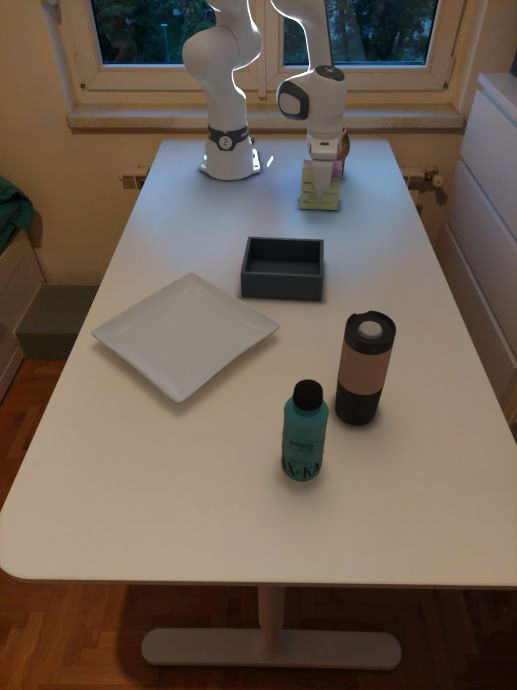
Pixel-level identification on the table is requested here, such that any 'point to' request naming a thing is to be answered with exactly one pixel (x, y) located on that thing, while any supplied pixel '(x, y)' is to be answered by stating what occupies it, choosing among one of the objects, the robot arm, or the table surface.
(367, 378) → the travel mug
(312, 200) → the box
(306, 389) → the beverage bottle
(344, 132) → the decorative planter
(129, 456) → the table surface
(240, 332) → the square plate
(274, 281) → the bin
